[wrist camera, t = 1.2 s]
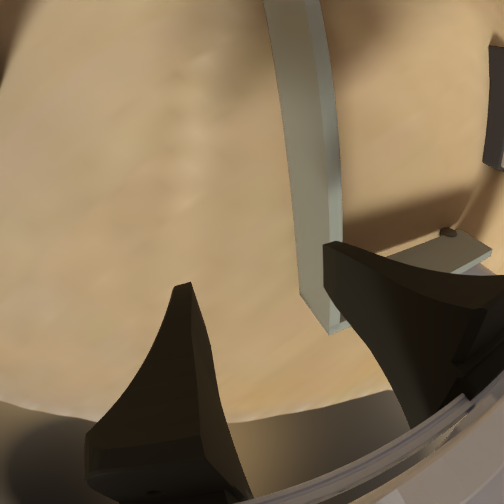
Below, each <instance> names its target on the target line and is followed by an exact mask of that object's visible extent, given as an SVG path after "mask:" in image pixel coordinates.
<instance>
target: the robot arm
mask: <svg viewBox="0 0 504 504" xmlns="http://www.w3.org/2000/svg"><path fill="white" fill-rule="evenodd" d="M322 246H323V287H324V289H325V290H326V292H327V294H328V296H329V297H330V299H331V301H332V302H333V304H334V305H335V307H336V308H337V309H338V310H339V312H340V313H341V314H342V315H343V317H344V318H345V319H346V320H347V322H348V323H349V324H350V325H351V326H352V328H353V329H354V330H355V331H356V333H357V334H358V335H359V336H360V337H361V339H362V340H363V341H364V342H365V344H366V345H367V346H368V348H369V349H370V351H371V352H372V354H373V355H374V357H375V359H376V360H377V362H378V364H379V365H380V367H381V369H382V370H383V372H384V374H385V376H386V377H387V379H388V381H389V383H390V385H391V387H392V389H393V391H394V393H395V395H396V397H397V399H398V401H399V403H400V405H401V407H402V409H403V412H404V414H405V416H406V419H407V421H408V424H409V426H410V429H411V430H410V431H408V432H407V433H405V434H403V435H402V436H400V437H398V438H397V439H395V440H393V441H392V442H390V443H388V444H386V445H385V446H383V447H381V448H379V449H377V450H375V451H374V452H372V453H370V454H368V455H366V456H364V457H362V458H360V459H358V460H356V461H354V462H352V463H350V464H348V465H345V466H343V467H341V468H339V469H337V470H334V471H332V472H330V473H327V474H325V475H322V476H320V477H317V478H315V479H313V480H310V481H307V482H304V483H302V484H299V485H296V486H293V487H290V488H287V489H284V490H281V491H278V492H275V493H272V494H269V495H265V496H261V497H258V498H254V497H253V495H252V492H251V490H250V488H249V485H248V482H247V480H246V477H245V475H244V472H243V469H242V467H241V464H240V461H239V458H238V455H237V453H236V449H235V447H234V444H233V441H232V438H231V434H230V431H229V429H228V425H227V422H226V419H225V416H224V412H223V409H222V406H221V401H220V397H219V392H218V386H217V381H216V375H215V369H214V363H213V357H212V350H211V345H210V341H209V338H208V334H207V330H206V326H205V323H204V320H203V317H202V314H201V311H200V308H199V305H198V302H197V299H196V296H195V293H194V290H193V287H192V284H191V282H188V283H185V284H181V285H177V286H175V287H174V288H173V291H172V295H171V298H170V302H169V305H168V308H167V311H166V314H165V316H164V319H163V322H162V324H161V327H160V329H159V332H158V334H157V336H156V338H155V341H154V343H153V345H152V347H151V349H150V351H149V353H148V355H147V357H146V359H145V361H144V362H143V364H142V366H141V368H140V369H139V371H138V372H137V374H136V376H135V377H134V379H133V380H132V382H131V383H130V385H129V386H128V388H127V389H126V390H125V391H124V393H123V394H122V395H121V397H120V398H119V399H118V400H117V402H116V403H115V404H114V405H113V406H112V408H111V409H110V410H109V411H108V412H107V413H106V414H105V415H104V416H103V417H102V418H101V419H100V420H99V421H98V422H97V423H96V425H95V426H94V427H93V428H92V429H91V430H90V431H89V432H87V433H86V436H85V443H84V481H85V482H86V483H87V485H89V487H91V488H92V489H94V490H95V491H97V492H99V493H101V494H103V495H105V496H107V497H109V498H111V499H113V500H115V501H117V502H119V504H316V503H319V502H322V501H324V500H327V499H329V498H331V497H334V496H336V495H338V494H341V493H343V492H345V491H347V490H349V489H351V488H354V487H356V486H358V485H360V484H362V483H364V482H366V481H368V480H370V479H372V478H373V477H375V476H377V475H379V474H381V473H383V472H384V471H386V470H388V469H390V468H391V467H393V466H395V465H397V464H398V463H400V462H401V461H403V460H405V459H406V458H408V457H409V456H411V455H412V454H414V453H416V452H417V451H419V450H420V449H422V448H423V447H425V446H426V445H428V444H429V443H430V442H432V441H433V440H435V439H436V438H437V437H439V436H440V435H441V434H443V433H444V432H445V431H447V430H448V429H449V428H451V427H452V426H453V425H454V424H456V423H457V422H458V421H459V420H461V419H462V418H463V417H464V416H465V415H467V414H468V415H467V416H466V417H464V418H463V420H461V421H460V422H459V423H458V424H457V425H456V427H455V428H454V430H453V431H452V432H451V434H450V435H449V436H448V437H447V438H446V439H445V440H444V441H443V442H442V443H441V444H440V445H439V446H438V447H437V448H436V449H435V452H433V453H432V454H430V455H429V456H428V457H426V458H425V459H423V460H422V461H420V462H419V463H417V464H416V465H414V466H413V467H411V468H410V469H408V470H407V471H405V472H404V473H402V474H401V475H399V476H397V477H396V478H394V479H392V480H391V481H389V482H388V483H386V484H384V485H382V486H381V487H379V488H377V489H375V490H374V491H372V492H370V493H368V494H366V495H364V496H362V497H360V498H359V499H357V500H355V501H353V502H351V503H349V504H504V275H496V274H495V273H493V272H492V271H490V270H489V269H488V268H486V267H485V266H483V265H482V264H481V263H478V264H477V265H475V266H473V267H472V268H470V269H468V270H466V271H465V272H463V273H461V274H453V273H446V272H439V271H434V270H429V269H424V268H420V267H416V266H412V265H408V264H405V263H401V262H398V261H395V260H392V259H389V258H386V257H383V256H380V255H377V254H374V253H372V252H369V251H366V250H363V249H361V248H358V247H355V246H352V245H349V244H346V243H343V242H339V241H333V242H330V243H326V244H323V245H322Z"/></svg>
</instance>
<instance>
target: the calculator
mask: <svg viewBox="0 0 504 504" xmlns="http://www.w3.org/2000/svg"><path fill="white" fill-rule="evenodd" d="M489 77H490V94H489V106H488V118H487V128H486V137H485V145H484V152H483V159H482V161H483V163H484V164H487V165H489V166H491V167H493V168H495V169H497V170H500V171H503V172H504V47H498V46H490V45H489Z"/></svg>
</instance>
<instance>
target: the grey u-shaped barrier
mask: <svg viewBox="0 0 504 504" xmlns="http://www.w3.org/2000/svg"><path fill="white" fill-rule="evenodd" d="M263 2H264V7H265V13H266V18H267V23H268V29H269V35H270V41H271V46H272V52H273V59H274V65H275V71H276V78H277V84H278V91H279V98H280V105H281V112H282V119H283V127H284V135H285V143H286V151H287V159H288V168H289V177H290V186H291V196H292V206H293V216H294V227H295V238H296V250H297V262H298V275H299V290H300V295H301V297H302V298H303V300H304V301H305V302H306V304H307V305H308V307H309V308H310V309H311V311H312V312H313V314H314V315H315V316H316V318H317V319H318V321H319V322H320V324H321V325H322V326H323V328H324V329H325V331H326V332H327V333H328V335H331V334H334V333H336V332H339V331H341V330H344V329H346V328H349V327H351V325H350V324H349V323H348V322H347V320H346V319H345V318H344V317H343V315H342V314H341V313H340V312H339V310H338V309H337V308H336V307H335V305H334V304H333V302H332V301H331V299H330V297H329V296H328V294H327V292H326V290H325V289H324V287H323V246H322V245H323V244H326V243H330V242H333V241H339V242H343V230H342V185H341V164H340V148H339V135H338V123H337V112H336V103H335V94H334V85H333V77H332V70H331V63H330V56H329V50H328V43H327V37H326V32H325V26H324V21H323V15H322V10H321V5H320V1H319V0H263ZM491 253H492V249H491V248H490V247H488V246H487V245H485V244H484V243H482V242H480V241H479V240H477V239H475V238H474V237H472V236H471V235H469V234H467V233H466V232H464V231H462V230H460V229H458V230H453V229H450V228H443V229H442V230H441V235H440V237H438V238H435V239H432V240H430V241H427V242H425V243H422V244H419V245H417V246H414V247H411V248H409V249H406V250H403V251H401V252H398V253H395V254H393V255H390V256H387V257H386V258H389V259H392V260H395V261H398V262H401V263H405V264H408V265H412V266H416V267H420V268H424V269H429V270H434V271H439V272H446V273H453V274H461V273H463V272H465V271H466V270H468V269H470V268H472V267H473V266H475V265H477V264H478V263H480V262H482V261H483V260H485V259H487V258H488V257H490V256H491Z"/></svg>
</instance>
